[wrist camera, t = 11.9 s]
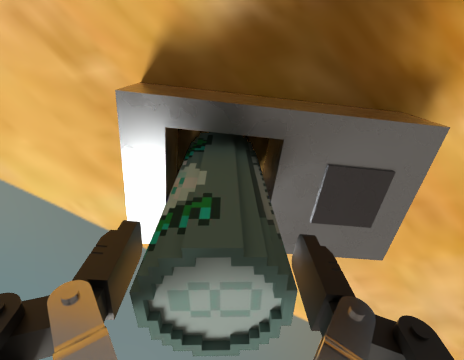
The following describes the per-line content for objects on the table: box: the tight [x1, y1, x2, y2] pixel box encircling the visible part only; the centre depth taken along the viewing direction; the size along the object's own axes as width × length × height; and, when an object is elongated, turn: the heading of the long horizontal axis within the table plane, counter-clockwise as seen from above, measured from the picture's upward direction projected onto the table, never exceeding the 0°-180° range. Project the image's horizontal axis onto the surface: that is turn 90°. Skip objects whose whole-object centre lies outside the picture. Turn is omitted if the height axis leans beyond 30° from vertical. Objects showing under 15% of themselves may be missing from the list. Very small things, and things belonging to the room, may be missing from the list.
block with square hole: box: [115, 82, 450, 260], centre depth 21 cm, size 12×22×5 cm, turn 84°
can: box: [130, 132, 297, 356], centre depth 16 cm, size 6×6×15 cm
